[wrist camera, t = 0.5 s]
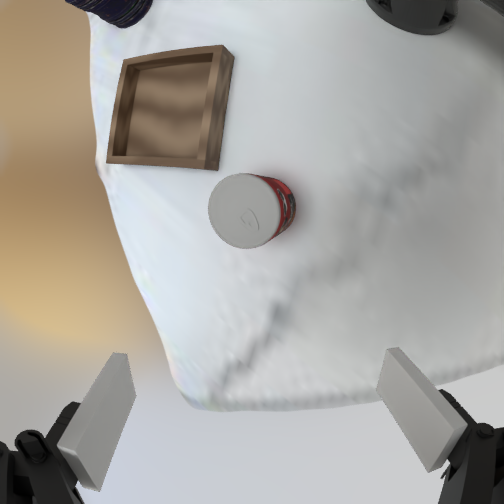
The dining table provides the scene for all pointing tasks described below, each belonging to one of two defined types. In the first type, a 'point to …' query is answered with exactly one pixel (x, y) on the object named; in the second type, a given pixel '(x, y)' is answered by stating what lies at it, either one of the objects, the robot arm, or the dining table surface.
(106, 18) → the storage jar
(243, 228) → the canned food
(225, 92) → the wooden tray
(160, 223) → the dining table surface
